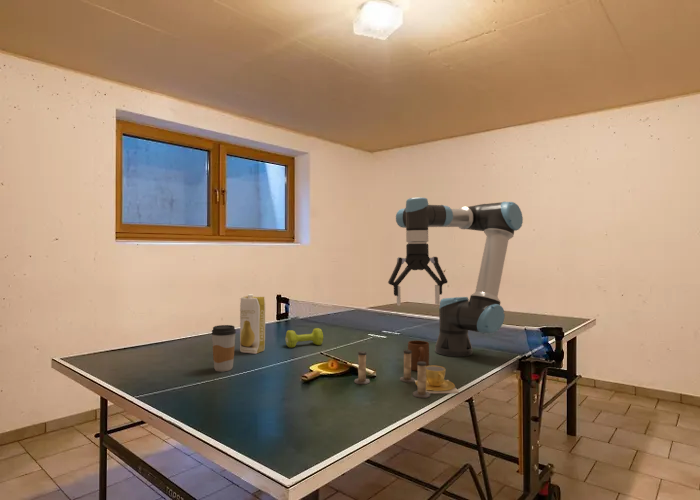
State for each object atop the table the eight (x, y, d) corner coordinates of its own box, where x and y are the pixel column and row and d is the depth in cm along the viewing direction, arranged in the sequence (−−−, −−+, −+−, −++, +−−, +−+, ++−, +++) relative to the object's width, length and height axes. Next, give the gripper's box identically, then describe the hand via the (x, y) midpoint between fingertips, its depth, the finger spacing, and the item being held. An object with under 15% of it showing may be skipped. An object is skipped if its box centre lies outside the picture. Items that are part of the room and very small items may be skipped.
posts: (417, 377, 143) (418, 349, 143) (431, 398, 123) (432, 364, 123) (353, 378, 142) (353, 349, 142) (357, 398, 122) (357, 365, 122)
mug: (433, 375, 146) (434, 347, 146) (411, 375, 146) (411, 347, 146) (426, 365, 158) (426, 340, 158) (406, 365, 158) (406, 340, 158)
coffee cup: (240, 367, 154) (240, 325, 154) (226, 373, 146) (226, 329, 146) (220, 365, 157) (221, 324, 157) (206, 371, 149) (206, 328, 149)
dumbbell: (318, 342, 197) (318, 326, 197) (324, 346, 190) (325, 329, 190) (283, 345, 190) (284, 329, 190) (289, 349, 183) (289, 332, 183)
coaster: (448, 381, 139) (448, 379, 139) (458, 393, 128) (458, 391, 128) (414, 382, 138) (414, 380, 138) (422, 393, 127) (422, 391, 127)
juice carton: (237, 352, 176) (237, 294, 176) (248, 348, 183) (249, 292, 183) (256, 354, 172) (256, 295, 172) (267, 350, 180) (267, 293, 180)
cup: (409, 381, 137) (409, 364, 137) (443, 378, 140) (443, 362, 140) (425, 393, 125) (425, 375, 125) (462, 390, 129) (462, 372, 129)
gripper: (449, 242, 152) (449, 302, 152) (379, 243, 149) (380, 304, 150) (456, 242, 144) (457, 305, 145) (383, 243, 142) (384, 307, 142)
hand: (418, 304), depth 147 cm, fingers open, 13 cm apart
